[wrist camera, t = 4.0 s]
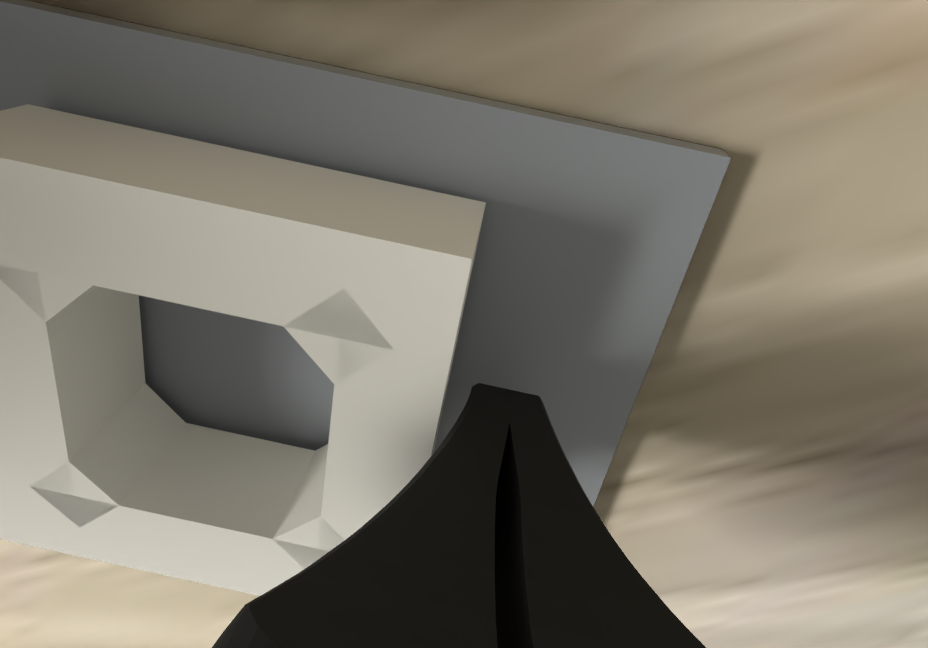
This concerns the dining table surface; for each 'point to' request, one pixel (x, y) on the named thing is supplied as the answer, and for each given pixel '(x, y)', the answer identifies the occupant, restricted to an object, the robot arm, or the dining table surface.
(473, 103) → the base board
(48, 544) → the holed block
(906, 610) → the dining table surface
